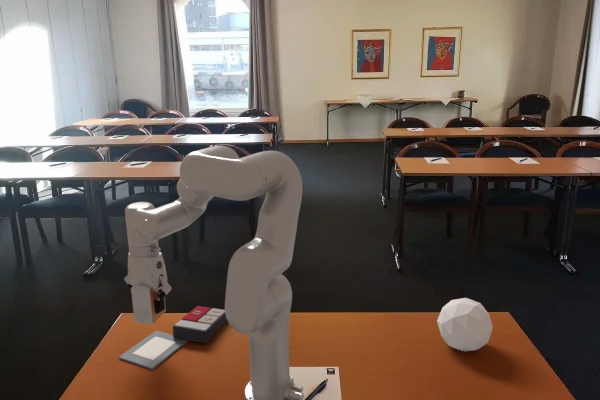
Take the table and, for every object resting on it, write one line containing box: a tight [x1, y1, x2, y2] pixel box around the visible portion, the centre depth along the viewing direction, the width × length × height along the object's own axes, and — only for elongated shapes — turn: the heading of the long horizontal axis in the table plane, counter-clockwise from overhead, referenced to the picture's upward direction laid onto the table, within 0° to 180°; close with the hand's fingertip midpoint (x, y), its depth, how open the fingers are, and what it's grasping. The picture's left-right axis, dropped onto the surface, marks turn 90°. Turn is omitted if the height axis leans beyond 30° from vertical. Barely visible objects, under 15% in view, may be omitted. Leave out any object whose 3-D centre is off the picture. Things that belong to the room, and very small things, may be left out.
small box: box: [130, 285, 167, 325], centre depth 131 cm, size 8×6×10 cm
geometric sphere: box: [436, 297, 494, 352], centre depth 134 cm, size 14×15×15 cm
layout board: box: [118, 330, 189, 371], centre depth 136 cm, size 12×15×1 cm
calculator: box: [172, 305, 228, 344], centre depth 145 cm, size 11×4×15 cm
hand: (149, 308), depth 132 cm, fingers closed on small box, 6 cm apart
